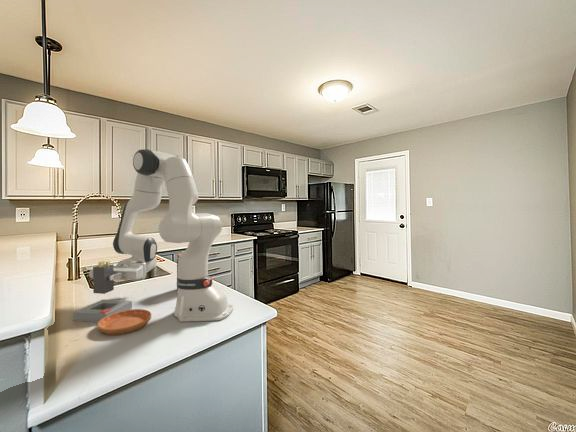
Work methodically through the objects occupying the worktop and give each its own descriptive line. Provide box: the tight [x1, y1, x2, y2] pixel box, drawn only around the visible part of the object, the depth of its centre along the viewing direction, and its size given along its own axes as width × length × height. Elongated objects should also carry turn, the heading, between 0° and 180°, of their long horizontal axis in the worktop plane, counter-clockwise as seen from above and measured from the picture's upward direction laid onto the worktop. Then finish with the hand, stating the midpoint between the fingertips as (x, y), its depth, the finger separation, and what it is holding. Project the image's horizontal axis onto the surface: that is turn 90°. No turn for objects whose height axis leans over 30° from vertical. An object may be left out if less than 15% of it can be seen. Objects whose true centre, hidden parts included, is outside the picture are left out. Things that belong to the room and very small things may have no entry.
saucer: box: [96, 308, 152, 336], centre depth 90 cm, size 16×16×3 cm
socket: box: [73, 299, 133, 323], centre depth 100 cm, size 13×13×4 cm
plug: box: [92, 260, 115, 295], centre depth 99 cm, size 4×4×12 cm
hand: (101, 278), depth 98 cm, fingers closed on plug, 4 cm apart
